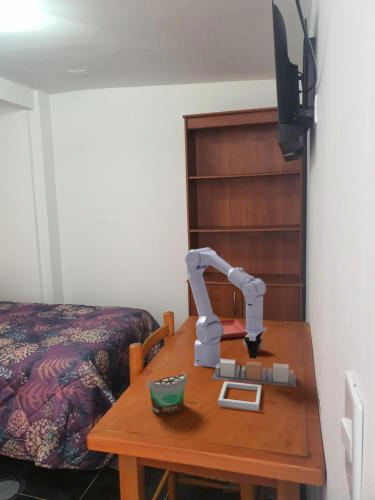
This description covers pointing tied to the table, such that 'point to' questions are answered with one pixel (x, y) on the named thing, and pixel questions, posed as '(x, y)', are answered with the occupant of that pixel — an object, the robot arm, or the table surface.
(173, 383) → the food container
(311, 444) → the table surface
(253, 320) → the robot arm
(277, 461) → the table surface
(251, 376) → the block
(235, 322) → the plant saucer
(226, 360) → the block
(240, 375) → the rail
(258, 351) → the fruit
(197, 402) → the table surface
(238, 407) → the tray
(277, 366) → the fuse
